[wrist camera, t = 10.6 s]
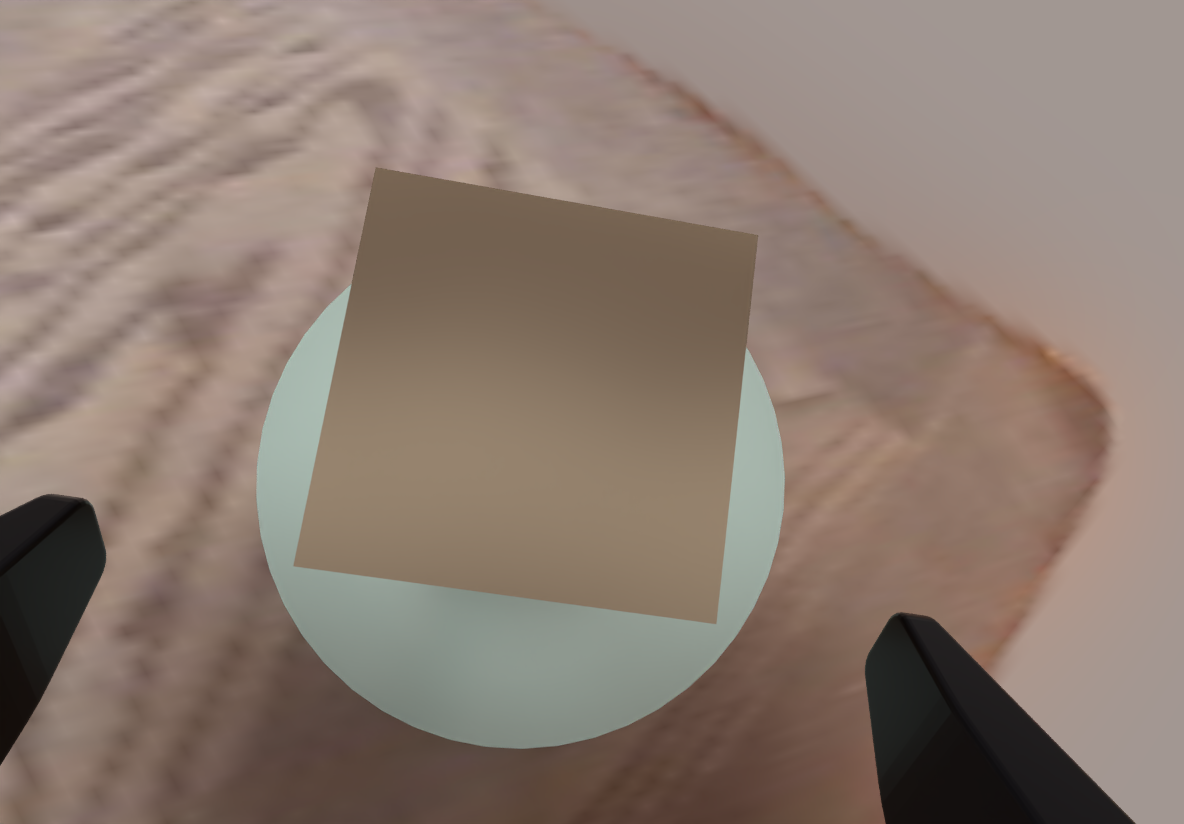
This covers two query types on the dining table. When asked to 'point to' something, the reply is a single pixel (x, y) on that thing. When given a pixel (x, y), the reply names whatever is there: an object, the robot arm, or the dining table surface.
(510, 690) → the dish
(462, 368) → the walnut block
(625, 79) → the dining table surface
